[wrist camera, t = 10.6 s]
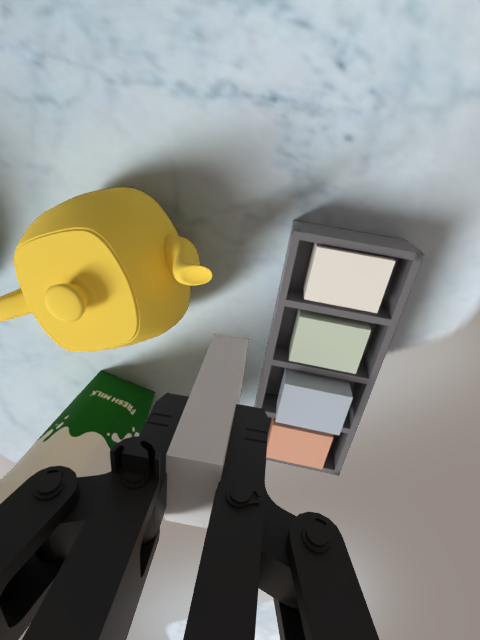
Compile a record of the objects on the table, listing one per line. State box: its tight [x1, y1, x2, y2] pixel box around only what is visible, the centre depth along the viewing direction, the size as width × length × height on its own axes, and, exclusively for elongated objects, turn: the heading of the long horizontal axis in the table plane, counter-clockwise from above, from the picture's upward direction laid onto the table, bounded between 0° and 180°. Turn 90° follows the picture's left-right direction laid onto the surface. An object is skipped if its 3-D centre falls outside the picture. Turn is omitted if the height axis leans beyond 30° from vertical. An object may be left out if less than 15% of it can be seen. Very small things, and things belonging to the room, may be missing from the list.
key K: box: [275, 368, 353, 435], centre depth 33 cm, size 4×6×3 cm
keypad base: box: [254, 220, 424, 475], centre depth 35 cm, size 24×10×5 cm, turn 171°
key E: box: [266, 418, 333, 469], centre depth 37 cm, size 4×6×3 cm
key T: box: [289, 309, 371, 374], centre depth 32 cm, size 4×6×3 cm
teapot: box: [0, 187, 213, 352], centre depth 30 cm, size 13×20×12 cm
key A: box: [303, 243, 396, 313], centre depth 29 cm, size 4×6×3 cm
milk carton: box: [0, 371, 155, 504], centre depth 35 cm, size 9×9×20 cm
